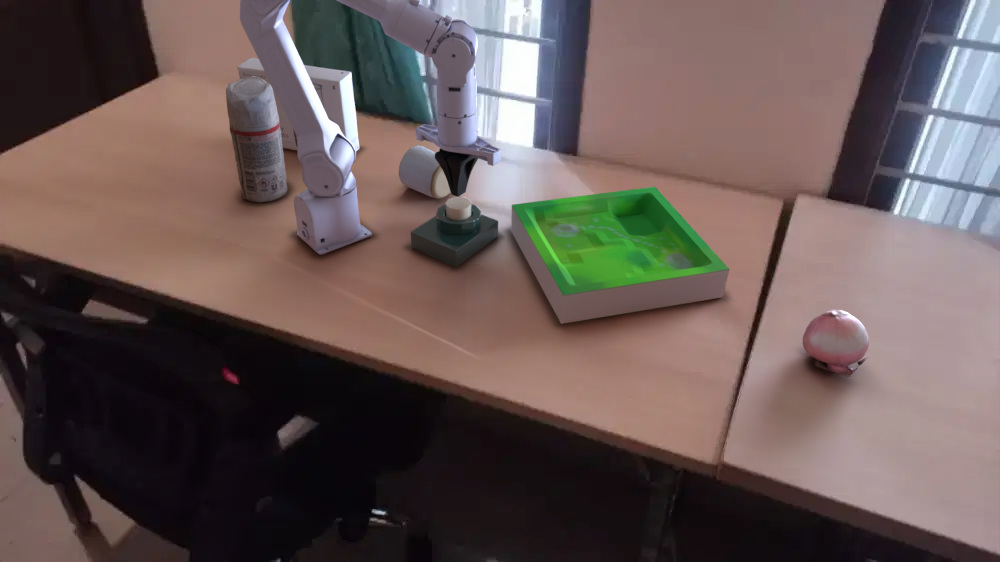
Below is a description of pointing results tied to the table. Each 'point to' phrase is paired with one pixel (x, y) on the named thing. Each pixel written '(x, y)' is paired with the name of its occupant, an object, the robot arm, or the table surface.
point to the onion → (836, 341)
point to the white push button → (458, 208)
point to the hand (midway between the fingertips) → (458, 193)
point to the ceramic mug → (423, 173)
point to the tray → (615, 254)
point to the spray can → (256, 139)
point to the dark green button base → (454, 236)
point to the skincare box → (331, 92)
